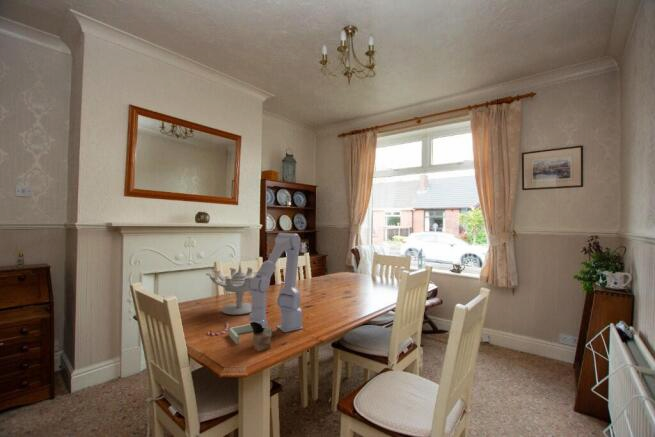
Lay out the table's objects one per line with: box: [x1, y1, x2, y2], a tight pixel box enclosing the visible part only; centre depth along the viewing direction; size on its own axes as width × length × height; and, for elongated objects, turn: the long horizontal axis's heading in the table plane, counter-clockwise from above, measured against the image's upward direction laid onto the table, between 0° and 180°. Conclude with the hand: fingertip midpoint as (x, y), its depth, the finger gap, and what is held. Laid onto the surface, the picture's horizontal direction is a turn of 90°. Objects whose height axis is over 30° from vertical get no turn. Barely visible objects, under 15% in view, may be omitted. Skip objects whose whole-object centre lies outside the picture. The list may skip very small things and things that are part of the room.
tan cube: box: [252, 332, 272, 352], centre depth 115 cm, size 5×5×5 cm
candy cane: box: [206, 322, 230, 337], centre depth 134 cm, size 8×1×15 cm
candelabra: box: [205, 263, 253, 316], centre depth 162 cm, size 34×35×27 cm
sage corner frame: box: [228, 323, 273, 345], centre depth 127 cm, size 15×12×3 cm
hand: (258, 340), depth 119 cm, fingers closed
